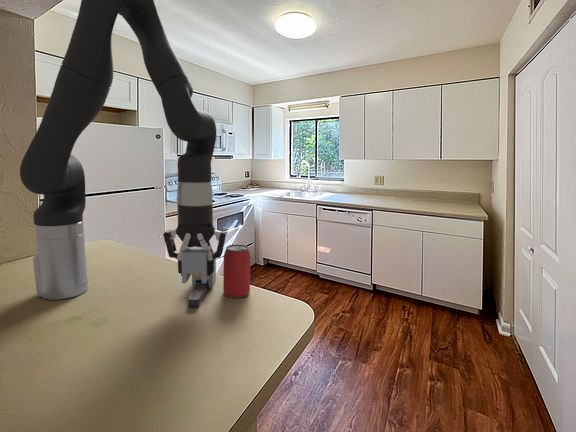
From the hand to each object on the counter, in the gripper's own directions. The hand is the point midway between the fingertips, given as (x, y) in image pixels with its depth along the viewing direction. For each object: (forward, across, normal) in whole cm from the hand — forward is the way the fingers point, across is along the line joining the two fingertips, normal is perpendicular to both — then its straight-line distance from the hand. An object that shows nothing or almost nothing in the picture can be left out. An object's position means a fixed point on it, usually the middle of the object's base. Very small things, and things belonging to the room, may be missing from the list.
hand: (196, 274), depth 73 cm
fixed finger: (+7, 0, -10) cm, 12 cm away
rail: (+7, 0, -5) cm, 8 cm away
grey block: (+1, 0, 0) cm, 1 cm away
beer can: (+7, -9, -5) cm, 12 cm away
